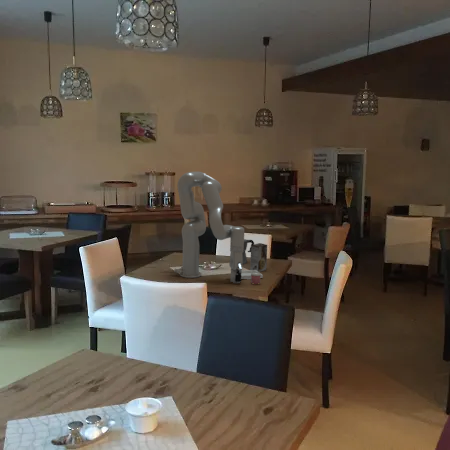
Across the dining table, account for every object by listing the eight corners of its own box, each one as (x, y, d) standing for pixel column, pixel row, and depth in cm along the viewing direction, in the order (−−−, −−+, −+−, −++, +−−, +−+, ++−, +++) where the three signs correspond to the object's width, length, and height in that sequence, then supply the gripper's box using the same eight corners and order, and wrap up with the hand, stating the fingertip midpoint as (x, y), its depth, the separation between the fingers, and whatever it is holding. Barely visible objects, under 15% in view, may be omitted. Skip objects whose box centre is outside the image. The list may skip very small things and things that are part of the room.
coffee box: (258, 268, 321) (259, 242, 319) (266, 270, 317) (267, 244, 315) (249, 270, 314) (250, 244, 312) (258, 272, 310) (259, 246, 308)
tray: (241, 279, 292) (241, 275, 291) (234, 274, 303) (235, 270, 303) (262, 278, 295) (262, 274, 295) (255, 273, 307) (255, 269, 306)
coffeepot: (228, 263, 331) (229, 236, 328) (230, 260, 340) (231, 233, 337) (252, 265, 329) (253, 237, 326) (253, 262, 338) (255, 235, 335)
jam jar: (252, 285, 282) (253, 274, 281) (249, 282, 287) (250, 272, 286) (261, 284, 283) (262, 274, 282) (258, 282, 288) (258, 271, 287)
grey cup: (232, 283, 283) (232, 271, 282) (229, 280, 289) (229, 268, 288) (242, 283, 285) (242, 270, 284) (239, 280, 290) (239, 268, 289)
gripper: (226, 245, 291) (225, 275, 294) (235, 252, 275) (233, 283, 277) (238, 245, 293) (237, 275, 296) (248, 251, 277) (247, 283, 279)
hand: (235, 279), depth 287 cm, fingers open, 7 cm apart
